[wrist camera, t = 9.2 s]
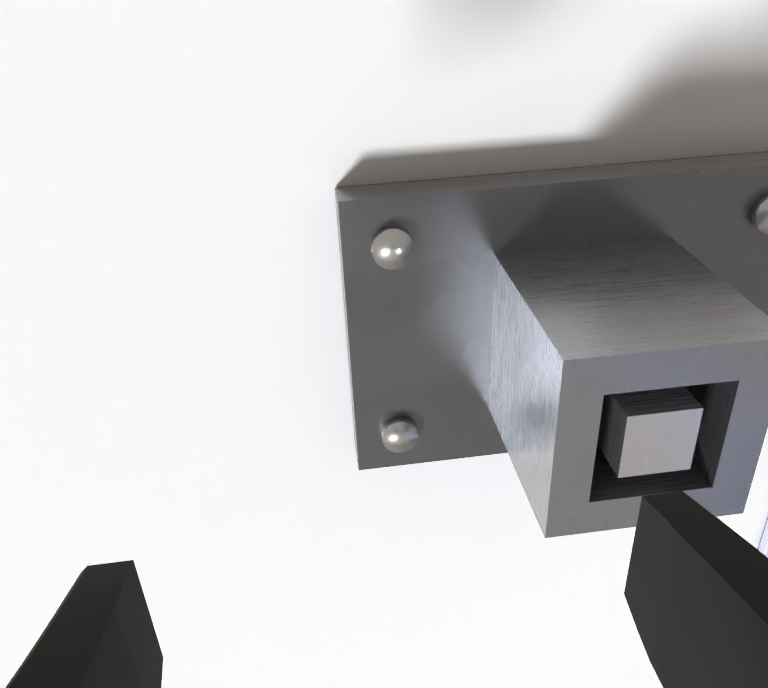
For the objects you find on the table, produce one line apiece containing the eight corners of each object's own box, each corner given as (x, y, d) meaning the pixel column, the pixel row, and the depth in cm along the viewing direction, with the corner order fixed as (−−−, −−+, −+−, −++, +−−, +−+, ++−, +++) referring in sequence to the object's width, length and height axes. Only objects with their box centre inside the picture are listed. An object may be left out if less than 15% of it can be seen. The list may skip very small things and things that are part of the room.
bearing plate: (801, 148, 19) (1000, 237, 14) (738, 403, 23) (872, 545, 18) (334, 187, 18) (359, 299, 13) (355, 448, 22) (380, 612, 17)
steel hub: (672, 238, 18) (792, 336, 14) (646, 389, 21) (742, 512, 17) (494, 254, 18) (563, 360, 14) (487, 407, 20) (545, 537, 16)
